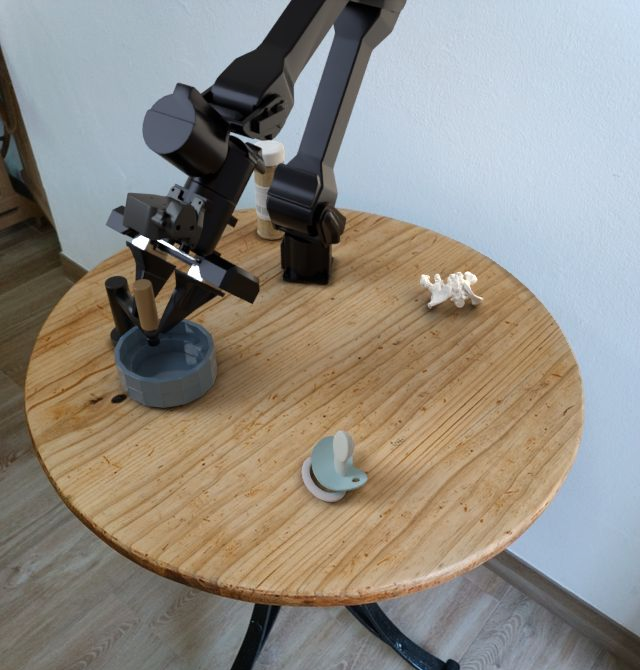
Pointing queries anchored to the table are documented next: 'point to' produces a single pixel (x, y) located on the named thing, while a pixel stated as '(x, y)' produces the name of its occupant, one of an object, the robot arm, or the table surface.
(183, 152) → the robot arm
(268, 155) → the sprinkles bottle
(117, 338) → the base
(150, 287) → the black crank handle
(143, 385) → the basin
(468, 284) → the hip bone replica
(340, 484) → the pacifier
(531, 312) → the table surface
